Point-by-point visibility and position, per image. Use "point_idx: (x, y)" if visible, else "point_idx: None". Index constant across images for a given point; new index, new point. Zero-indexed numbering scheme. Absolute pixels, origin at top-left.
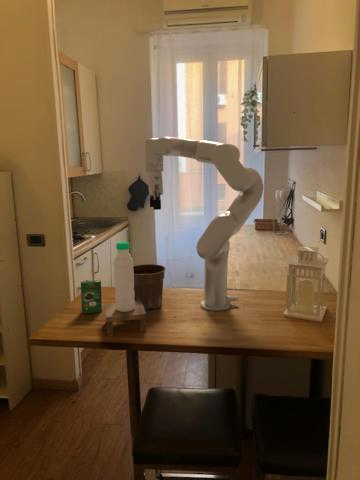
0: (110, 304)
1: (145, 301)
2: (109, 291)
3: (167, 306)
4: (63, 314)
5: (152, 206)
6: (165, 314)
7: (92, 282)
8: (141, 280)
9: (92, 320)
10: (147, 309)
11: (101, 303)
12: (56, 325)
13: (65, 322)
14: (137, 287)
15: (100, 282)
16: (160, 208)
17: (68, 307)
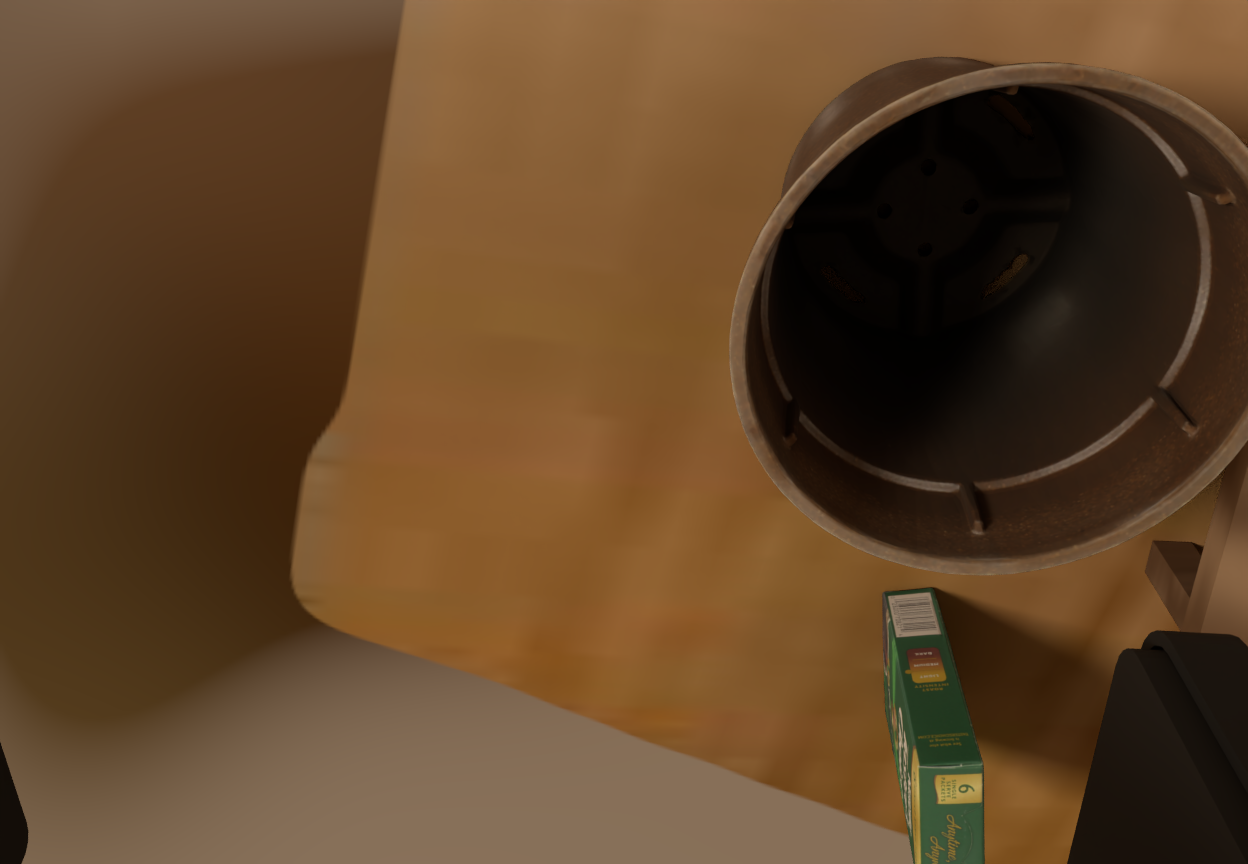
0: (1238, 629)
1: (1090, 276)
2: (438, 489)
3: (1038, 6)
4: (882, 808)
5: (1, 782)
6: (1244, 74)
7: (981, 827)
8: (1186, 410)
9: (1084, 655)
10: (1065, 232)
11: (945, 628)
12: (1067, 845)
13: (1039, 801)
14: (1094, 407)
15: (982, 761)
16: (1236, 673)
17: (751, 779)
